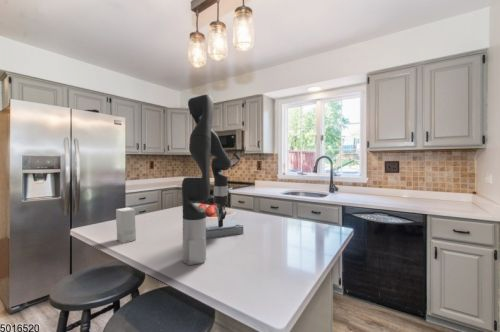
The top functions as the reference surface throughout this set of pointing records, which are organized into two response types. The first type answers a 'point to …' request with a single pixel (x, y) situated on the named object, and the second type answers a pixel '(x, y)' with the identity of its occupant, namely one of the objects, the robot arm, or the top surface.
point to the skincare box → (125, 224)
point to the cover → (224, 225)
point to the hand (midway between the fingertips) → (220, 226)
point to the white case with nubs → (224, 232)
